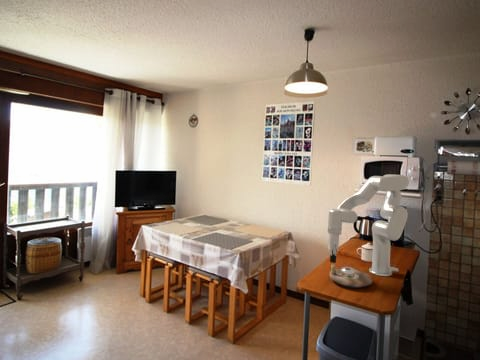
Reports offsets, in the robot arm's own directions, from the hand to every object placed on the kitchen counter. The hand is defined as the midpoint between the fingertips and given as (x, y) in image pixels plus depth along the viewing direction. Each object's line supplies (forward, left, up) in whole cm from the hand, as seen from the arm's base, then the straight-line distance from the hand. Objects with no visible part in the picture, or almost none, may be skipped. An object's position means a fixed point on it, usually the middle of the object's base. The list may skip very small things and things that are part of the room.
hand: (332, 262), depth 169 cm
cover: (-8, +5, -5) cm, 11 cm away
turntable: (-9, +6, -6) cm, 13 cm away
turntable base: (-9, +6, -9) cm, 14 cm away
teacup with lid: (-25, -38, -9) cm, 47 cm away
